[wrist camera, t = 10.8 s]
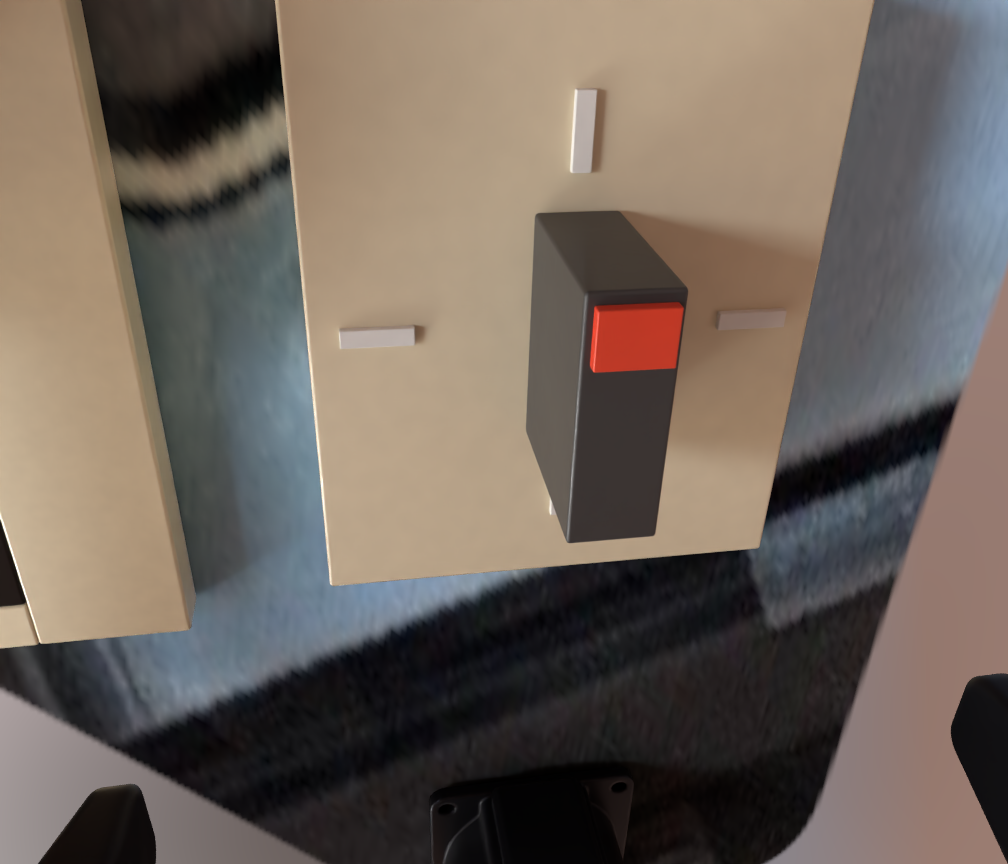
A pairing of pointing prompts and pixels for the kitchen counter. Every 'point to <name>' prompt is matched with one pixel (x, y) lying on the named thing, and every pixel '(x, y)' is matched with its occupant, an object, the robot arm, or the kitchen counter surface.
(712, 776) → the kitchen counter surface
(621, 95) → the control panel
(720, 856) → the kitchen counter surface
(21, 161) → the stove top
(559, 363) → the block with red tab
